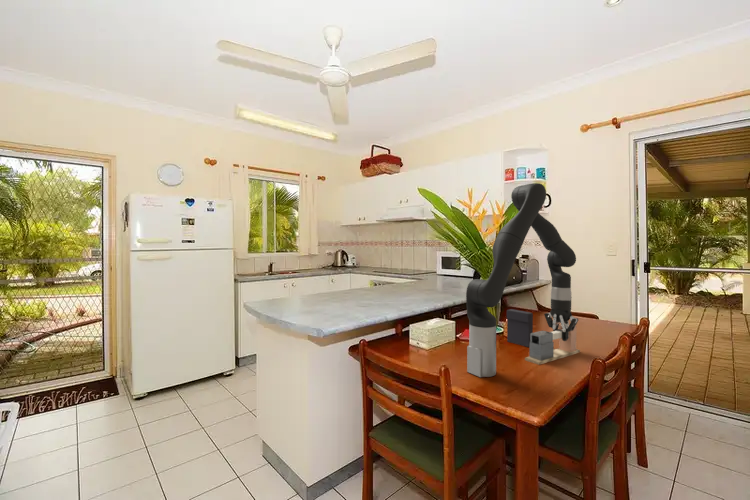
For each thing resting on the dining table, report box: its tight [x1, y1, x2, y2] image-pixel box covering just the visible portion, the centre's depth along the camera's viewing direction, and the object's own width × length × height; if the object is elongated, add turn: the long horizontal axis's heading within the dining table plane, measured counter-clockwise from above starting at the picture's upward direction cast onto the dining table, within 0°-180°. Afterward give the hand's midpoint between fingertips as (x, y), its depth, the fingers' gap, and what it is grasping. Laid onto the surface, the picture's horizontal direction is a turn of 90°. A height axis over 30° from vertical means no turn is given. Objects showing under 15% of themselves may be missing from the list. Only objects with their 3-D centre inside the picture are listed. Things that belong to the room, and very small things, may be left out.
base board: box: [524, 347, 581, 366], centre depth 143 cm, size 28×6×1 cm, turn 121°
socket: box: [558, 324, 577, 352], centre depth 148 cm, size 4×5×10 cm
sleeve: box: [528, 330, 555, 361], centre depth 139 cm, size 8×5×10 cm, turn 121°
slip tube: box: [550, 328, 569, 341], centre depth 144 cm, size 17×3×3 cm, turn 121°
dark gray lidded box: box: [506, 308, 534, 348], centre depth 160 cm, size 11×4×15 cm, turn 34°
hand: (560, 339), depth 145 cm, fingers closed on slip tube, 3 cm apart
